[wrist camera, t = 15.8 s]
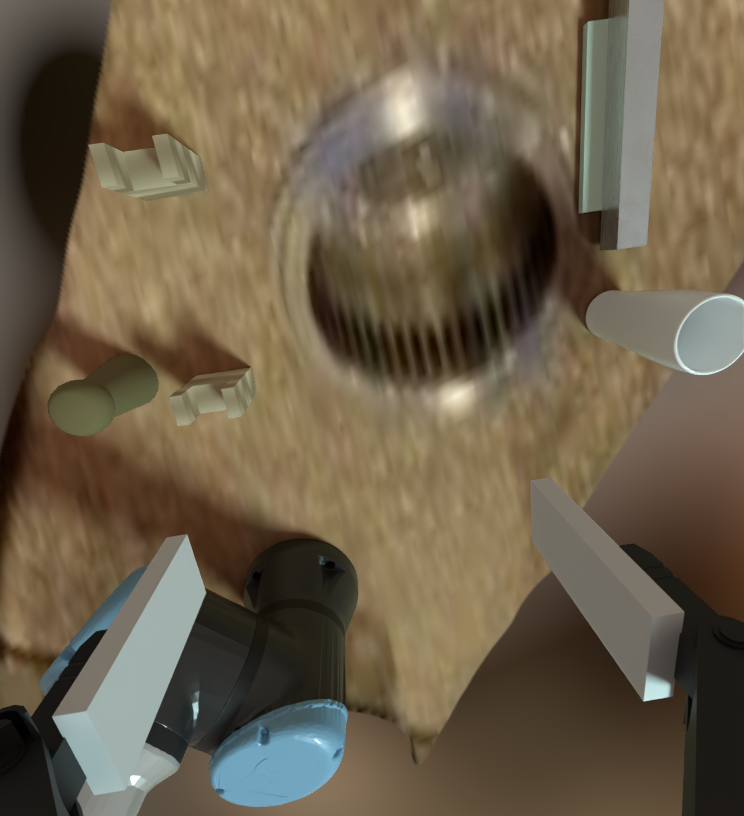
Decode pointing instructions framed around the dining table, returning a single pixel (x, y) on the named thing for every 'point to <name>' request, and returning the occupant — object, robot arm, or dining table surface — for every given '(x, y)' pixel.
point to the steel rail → (629, 120)
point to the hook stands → (160, 178)
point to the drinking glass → (672, 326)
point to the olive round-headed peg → (102, 395)
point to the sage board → (592, 114)
